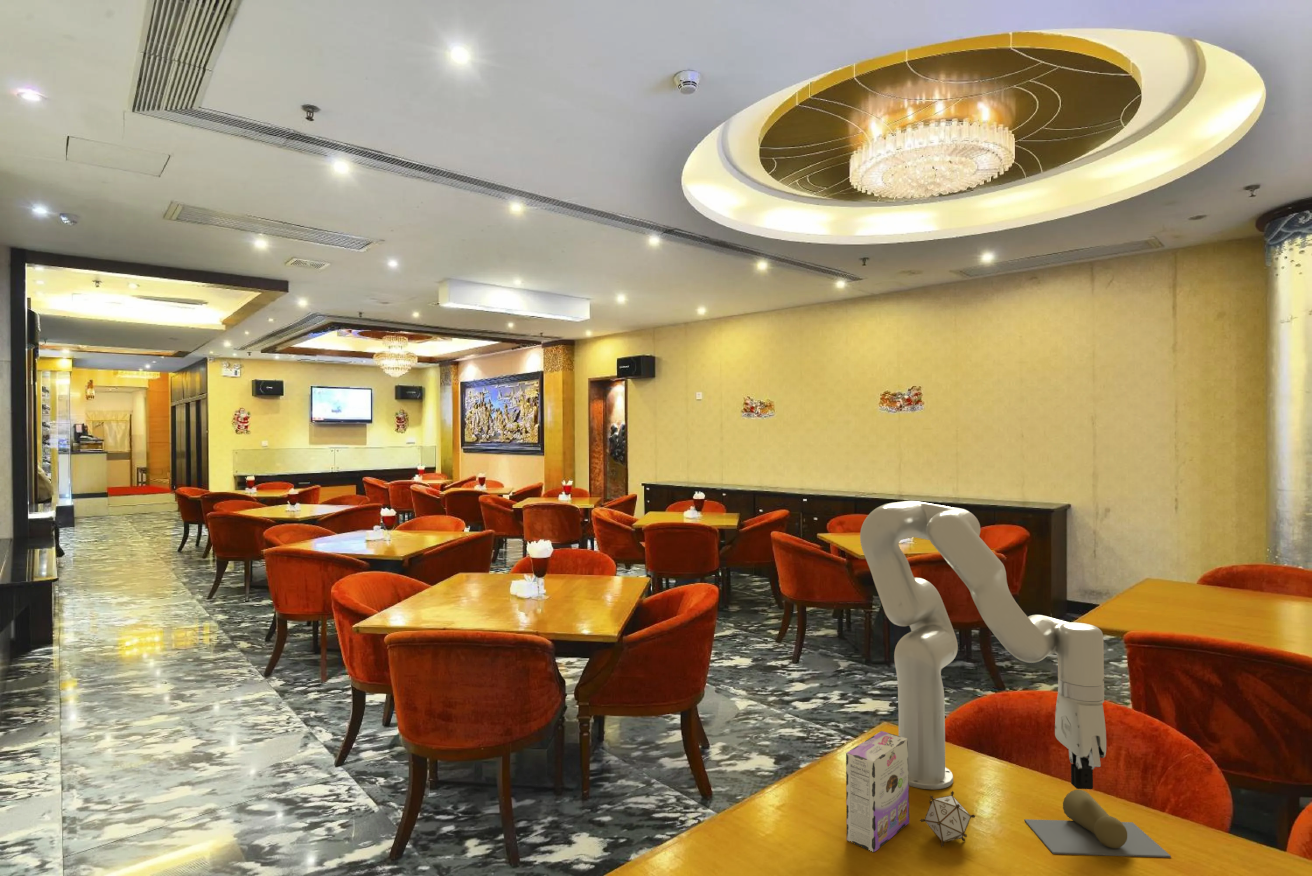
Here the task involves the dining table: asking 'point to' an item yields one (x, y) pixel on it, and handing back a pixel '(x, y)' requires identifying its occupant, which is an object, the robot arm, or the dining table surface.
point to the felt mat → (1092, 840)
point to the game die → (947, 818)
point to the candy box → (877, 790)
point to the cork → (1094, 818)
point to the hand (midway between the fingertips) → (1082, 786)
